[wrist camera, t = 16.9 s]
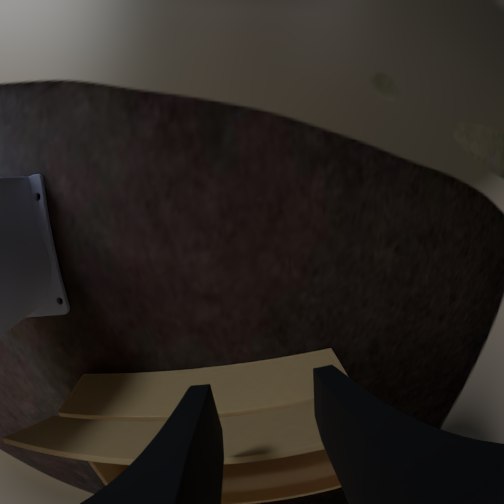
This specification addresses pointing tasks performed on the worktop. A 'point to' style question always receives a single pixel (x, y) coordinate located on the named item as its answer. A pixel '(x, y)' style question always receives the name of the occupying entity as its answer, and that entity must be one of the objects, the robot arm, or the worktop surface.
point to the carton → (228, 404)
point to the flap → (142, 432)
